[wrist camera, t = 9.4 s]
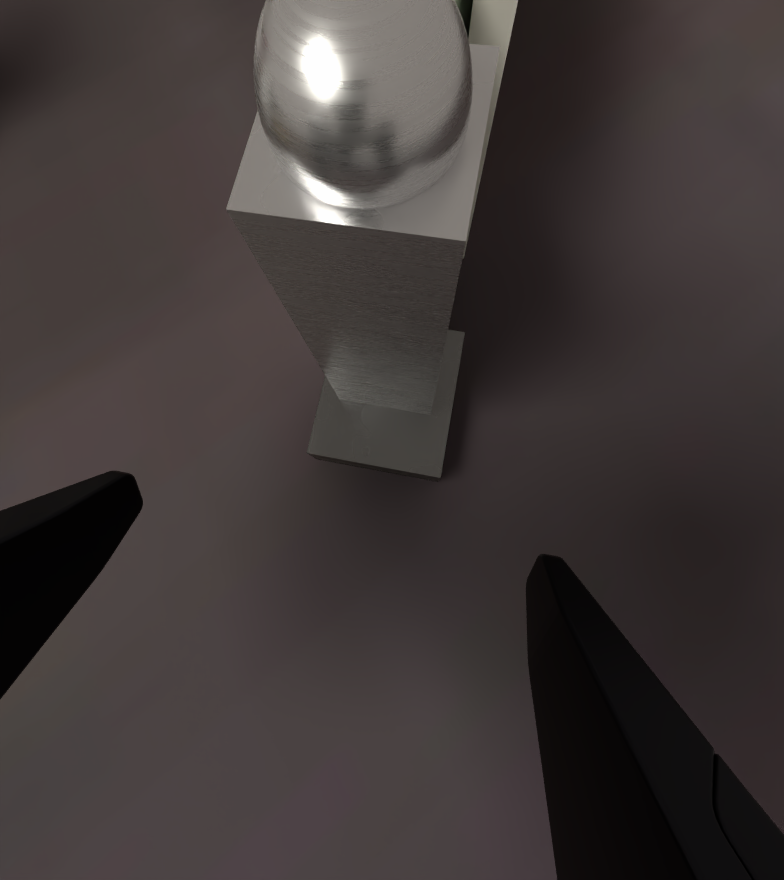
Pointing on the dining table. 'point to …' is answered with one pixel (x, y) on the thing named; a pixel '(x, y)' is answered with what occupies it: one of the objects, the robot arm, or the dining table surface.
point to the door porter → (368, 210)
